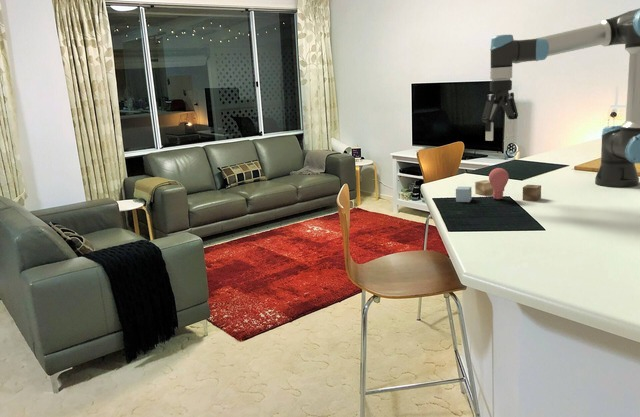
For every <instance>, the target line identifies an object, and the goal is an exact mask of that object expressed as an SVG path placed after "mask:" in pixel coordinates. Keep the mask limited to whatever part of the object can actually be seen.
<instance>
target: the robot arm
mask: <svg viewBox="0 0 640 417" xmlns="http://www.w3.org/2000/svg"><path fill="white" fill-rule="evenodd" d="M490 40H491V41H490V50H489V51H490V71H489V72H490V73H489V74H490V75H489V76H490V77H489V78H490V82H489V91H490V92H492V93H490V94H487V95H486V101H485V106H484V109H483V112H482V116H481V119H480V120H481V121H482V123H484V124H485V127H484V131H485V136H484V137H485V138H484V139H485V141H489V142H490V141H491V142H492V141H494V122H493V121H494V119H495V116H496V113H497V111H498V110H499V108H500V107H502V109H503V111H504V113H505V115H506V117H507V119H506V120H505V121H506V124H505V126H506V128H505V131H506V132H505V137H507V138H513V137H514V136H515V120H517V119H518V117H519V113H518V109H517V105H516V101H515V93H514V92H511V91H512V89H513V80H512V78H513V64H520V63H527V62H538V61H544V60H546V59H547V57H551V56H554V55H560V54H564V53H565V54H566V53H570V52H574V51H579V50H584V49H587V48H592V47H593V48H594V47H596V46H603V47H610V46H618V45H624V46H625V47H624V50H625V51H626V52H628V53H629V58H628V59H629V60H628V76H627V77H628V79H627V94H626V109H625V121H624V122H623V123H622V124H621V125H613V126H606V127H603V129H602V133H601V153H600V166H599V168H598V170H597V173H596V176H595V177H594V178H595V179H594V183H595V184H596V185H597V186H603V187H611V188H612V187H614V188H615V187H617V188H624V187H625V188H626V187H628V188H629V187H634V186H638V185H639V183H640V178H639V177H640V176H639V173H638V171H637V168H636V164H640V8H636V9H633V10H629V11H627V12H624V13H622V14H619V15H617V16H613V17H611V18H607V19H601V21H600V22H599V23H597V24H593V25H588V26H584V27H580V28H576V29H572V30H567V31H562V32H559V33H553V34H549V35H545V36H541V37H536V38H535V37H534V38H531V39H519V40H518V39H517V40H516V39H514V35H513V34H500V35H495V36H493V37H491V39H490ZM509 91H510V92H509Z"/></svg>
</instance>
